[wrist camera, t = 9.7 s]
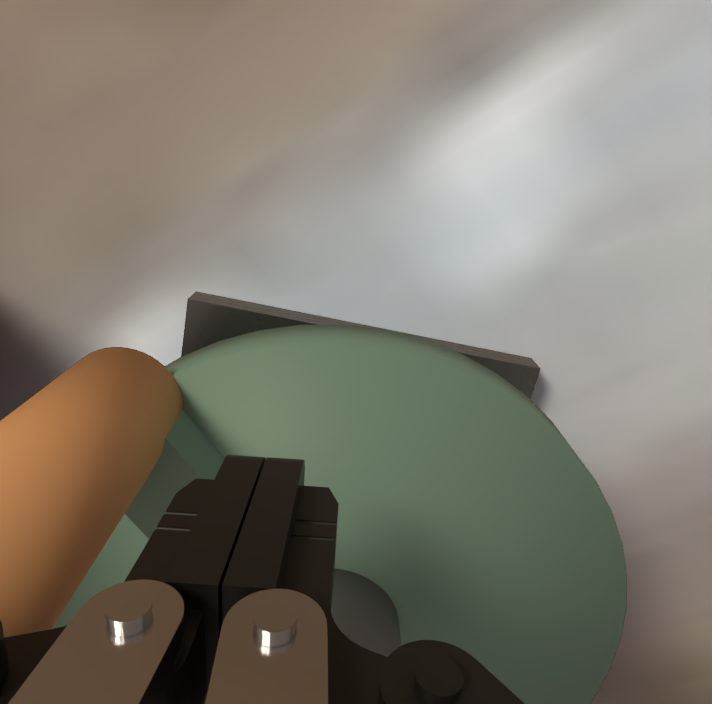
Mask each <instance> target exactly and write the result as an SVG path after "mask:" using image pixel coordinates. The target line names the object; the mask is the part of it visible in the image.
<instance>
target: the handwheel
mask: <svg viewBox="0 0 712 704" xmlns="http://www.w3.org/2000/svg"><path fill="white" fill-rule="evenodd" d="M227 455H241V456H256V457H265V458H267V457H273V458H287V459H302V460H305V477H304V486H316V487H329V488H330V490H331V492H332V493H333V495H334V497H335V498H336V500H337V502H338V504H339V506H338V521H337V536H336V552H335V567H334V580H333V592H332V605H331V614H332V617H333V619H334V622H335V623H336V625H337V626H338V628H339V629H340V631H341V632H342V633H343V634H344V635H345V636H346V637H348V638H349V639H350V640H351V641H353V642H354V643H356V644H358V645H359V646H361V647H363V648H366V649H368V650H370V651H373V652H376V653H378V654H381V655H384V656H387V657H388V656H389V655H390V654H391V653H392V652H393V651H394V650H396V649H397V648H398V647H400V646H402V645H404V644H406V643H409V642H413V641H418V640H436V641H442V642H445V643H449V644H452V645H454V646H456V647H459V648H461V649H462V650H464V651H466V652H467V653H469V654H470V655H471V656H473V657H474V658H475V659H476V660H477V661H479V662H480V663H481V664H482V665H483V666H484V667H485V668H486V669H487V670H488V671H489V672H491V673H492V674H493V675H494V676H495V677H496V678H497V679H498V680H499V681H500V682H502V683H503V684H504V685H505V686H506V687H507V688H508V689H509V690H510V691H511V692H512V693H514V694H515V695H516V696H517V697H518V698H519V699H520V700H521V701H522V702H523V703H525V704H590V702H591V701H592V700H593V698H594V697H595V695H596V694H597V692H598V690H599V688H600V686H601V684H602V682H603V681H604V679H605V677H606V675H607V673H608V671H609V669H610V667H611V664H612V662H613V659H614V656H615V653H616V650H617V648H618V645H619V642H620V639H621V634H622V629H623V623H624V618H625V613H626V601H627V573H626V566H625V559H624V552H623V545H622V542H621V539H620V535H619V532H618V529H617V526H616V523H615V520H614V517H613V514H612V511H611V509H610V507H609V505H608V503H607V501H606V500H605V498H604V496H603V494H602V492H601V490H600V488H599V486H598V484H597V482H596V480H595V479H594V478H593V476H592V475H591V474H590V472H589V471H588V469H587V468H586V467H585V465H584V464H583V463H582V461H581V460H580V459H579V457H578V456H577V455H576V453H575V452H574V450H573V449H572V448H571V446H570V445H569V444H568V442H567V441H566V440H565V438H564V437H563V436H562V434H561V433H560V432H559V430H558V429H557V428H556V426H555V425H554V424H553V422H552V421H551V420H550V419H549V418H548V417H547V416H546V415H545V414H544V413H543V412H542V411H541V410H540V409H539V408H538V407H537V406H536V405H535V404H534V403H533V402H532V401H531V400H530V399H529V398H528V397H527V396H526V395H525V394H523V393H522V392H521V391H519V390H518V389H517V388H515V387H514V386H513V385H511V384H510V383H509V382H507V381H506V380H505V379H503V378H502V377H501V376H499V375H498V374H497V373H495V372H493V371H492V370H490V369H488V368H486V367H484V366H483V365H481V364H479V363H477V362H475V361H473V360H472V359H470V358H468V357H466V356H464V355H463V354H460V353H458V352H455V351H453V350H450V349H448V348H445V347H442V346H440V345H437V344H435V343H432V342H430V341H427V340H425V339H421V338H417V337H413V336H409V335H405V334H401V333H397V332H393V331H388V330H384V329H377V328H368V327H360V326H351V325H342V324H337V325H295V326H288V327H280V328H273V329H266V330H258V331H255V332H251V333H247V334H244V335H240V336H236V337H232V338H229V339H225V340H221V341H218V342H216V343H213V344H211V345H208V346H206V347H204V348H201V349H199V350H196V351H194V352H192V353H189V354H187V355H184V356H182V357H180V358H179V359H177V360H175V361H173V362H172V363H170V364H168V365H167V366H164V365H162V364H161V363H160V362H159V361H157V360H156V359H154V358H153V357H151V356H149V355H147V354H145V353H143V352H140V351H137V350H134V349H130V348H123V347H111V348H104V349H100V350H97V351H94V352H92V353H90V354H88V355H87V356H85V357H84V358H82V359H81V360H80V361H78V362H77V363H76V364H74V365H73V366H72V367H70V368H69V369H68V370H67V371H65V372H64V373H63V374H61V375H60V376H59V377H57V378H56V379H55V380H53V381H52V382H51V383H49V384H48V385H47V386H46V387H44V388H43V389H42V390H40V391H39V392H38V393H36V394H35V395H34V396H32V397H31V398H30V399H28V400H27V401H26V402H24V403H23V404H22V405H21V406H19V407H18V408H17V409H15V410H14V411H13V412H11V413H10V414H9V415H7V416H6V417H5V418H3V419H2V420H1V421H0V620H1V622H2V626H3V632H4V638H5V637H11V636H16V635H22V634H27V633H33V632H38V631H44V630H49V629H54V628H59V627H63V626H66V625H68V624H69V622H70V621H71V620H72V619H73V617H74V616H75V615H76V613H77V612H78V611H79V609H80V608H81V607H82V606H83V605H84V604H85V603H86V602H87V601H88V600H89V599H90V598H91V597H93V596H94V595H96V594H97V593H99V592H100V591H102V590H104V589H106V588H108V587H111V586H113V585H116V584H119V583H123V582H124V581H125V580H126V578H127V576H128V575H129V573H130V571H131V569H132V568H133V566H134V564H135V563H136V561H137V559H138V557H139V556H140V554H141V552H142V551H143V549H144V547H145V545H146V544H147V542H148V540H149V539H150V537H151V535H152V533H153V532H154V530H156V529H157V525H158V523H159V521H160V520H161V518H162V516H163V515H164V514H165V513H166V510H167V508H168V506H169V504H170V503H171V501H172V499H173V498H174V496H175V494H176V493H177V492H178V491H180V490H181V489H182V488H184V487H185V486H186V485H188V484H189V483H191V482H192V481H193V480H195V479H196V478H197V479H211V480H214V479H215V477H216V475H217V473H218V471H219V469H220V467H221V465H222V463H223V461H224V459H225V457H226V456H227Z"/></svg>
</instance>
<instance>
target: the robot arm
mask: <svg viewBox="0 0 712 704" xmlns="http://www.w3.org/2000/svg"><path fill="white" fill-rule="evenodd" d="M304 477H305V460H302V459H287V458H273V457H267V458H265V457H256V456H241V455H227V456H226V457H225V459H224V461H223V463H222V465H221V467H220V469H219V471H218V473H217V475H216V477H215V479H214V480H211V479H197V478H196V479H195V480H193V481H192V482H191V483H189V484H188V485H186V486H185V487H184V488H182V489H181V490H180V491H178V492H177V493H176V494H175V496H174V498H173V499H172V501H171V503H170V504H169V506H168V508H167V510H166V513H165V514H164V515H163V516H162V518H161V520H160V521H159V523H158V525H157V529H156V530H154V532H153V533H152V535H151V537H150V539H149V540H148V542H147V544H146V545H145V547H144V549H143V551H142V552H141V554H140V556H139V557H138V559H137V561H136V563H135V564H134V566H133V568H132V569H131V571H130V573H129V575H128V576H127V578H126V580H125V581H124V582H123V583H119V584H116V585H113V586H111V587H108V588H106V589H104V590H102V591H100V592H99V593H97V594H96V595H94V596H93V597H91V598H90V599H89V600H88V601H87V602H86V603H85V604H84V605H83V606H82V607H81V608H80V609H79V611H78V612H77V613H76V615H75V616H74V617H73V619H72V620H71V621H70V622H69V624H68V625H66V626H63V627H59V628H54V629H49V630H44V631H38V632H33V633H27V634H22V635H16V636H11V637H5V638H4V632H3V626H2V622H1V620H0V704H525V703H523V702H522V701H521V700H520V699H519V698H518V697H517V696H516V695H515V694H514V693H512V692H511V691H510V690H509V689H508V688H507V687H506V686H505V685H504V684H503V683H502V682H500V681H499V680H498V679H497V678H496V677H495V676H494V675H493V674H492V673H491V672H489V671H488V670H487V669H486V668H485V667H484V666H483V665H482V664H481V663H480V662H479V661H477V660H476V659H475V658H474V657H473V656H471V655H470V654H469V653H467V652H466V651H464V650H462V649H461V648H459V647H456V646H454V645H452V644H449V643H445V642H442V641H436V640H418V641H413V642H409V643H406V644H404V645H402V646H400V647H398V648H397V649H396V650H394V651H393V652H392V653H391V654H390V655H389V656H388V657H387V656H384V655H381V654H378V653H376V652H373V651H370V650H368V649H366V648H363V647H361V646H359V645H358V644H356V643H354V642H353V641H351V640H350V639H349V638H348V637H346V636H345V635H344V634H343V633H342V632H341V631H340V629H339V628H338V626H337V625H336V623H335V622H334V619H333V617H332V614H331V605H332V592H333V580H334V567H335V552H336V536H337V521H338V506H339V504H338V502H337V500H336V498H335V497H334V495H333V493H332V492H331V490H330V488H329V487H316V486H304Z"/></svg>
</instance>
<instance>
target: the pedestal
mask: <svg viewBox="0 0 712 704" xmlns="http://www.w3.org/2000/svg"><path fill="white" fill-rule="evenodd" d="M337 324H342V325H351V326H360V327H368V328H377V327H372V326H367V325H361V324H356V323H351V322H346V321H341V320H336V319H331V318H326V317H321V316H316V315H311V314H306V313H301V312H296V311H291V310H286V309H281V308H276V307H271V306H266V305H261V304H256V303H251V302H246V301H241V300H236V299H231V298H226V297H221V296H216V295H211V294H206V293H201V292H195V293H194V294H193V295H192V296H191V297H190V298H188V303H187V312H186V320H185V329H184V338H183V347H182V355H181V357H182V356H184V355H187V354H189V353H192V352H194V351H196V350H199V349H201V348H204V347H206V346H208V345H211V344H213V343H216V342H218V341H221V340H225V339H229V338H232V337H236V336H240V335H244V334H247V333H251V332H255V331H258V330H266V329H273V328H280V327H288V326H295V325H337ZM377 329H382V328H377ZM384 330H387V329H384ZM388 331H392V330H388ZM393 332H397V331H393ZM397 333H401V334H405V335H409V336H413V337H417V338H421V339H425V340H427V341H430V342H432V343H435V344H437V345H440V346H442V347H445V348H448V349H450V350H453V351H455V352H458V353H460V354H463V355H464V356H466V357H468V358H470V359H472V360H473V361H475V362H477V363H479V364H481V365H483V366H484V367H486V368H488V369H490V370H492V371H493V372H495V373H497V374H498V375H499V376H501V377H502V378H503V379H505V380H506V381H507V382H509V383H510V384H511V385H513V386H514V387H515V388H517V389H518V390H519V391H521V392H522V393H523V394H525V395H526V396H527V397H528V398H529V399H530V398H531V395H532V392H533V389H534V386H535V383H536V380H537V377H538V374H539V371H540V368H539V366H538V365H537V364H536V363H535V362H534V361H533V360H532V358H527V357H522V356H517V355H512V354H507V353H502V352H497V351H492V350H487V349H482V348H477V347H472V346H467V345H462V344H457V343H452V342H447V341H442V340H437V339H432V338H427V337H422V336H417V335H412V334H407V333H402V332H397Z"/></svg>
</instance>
